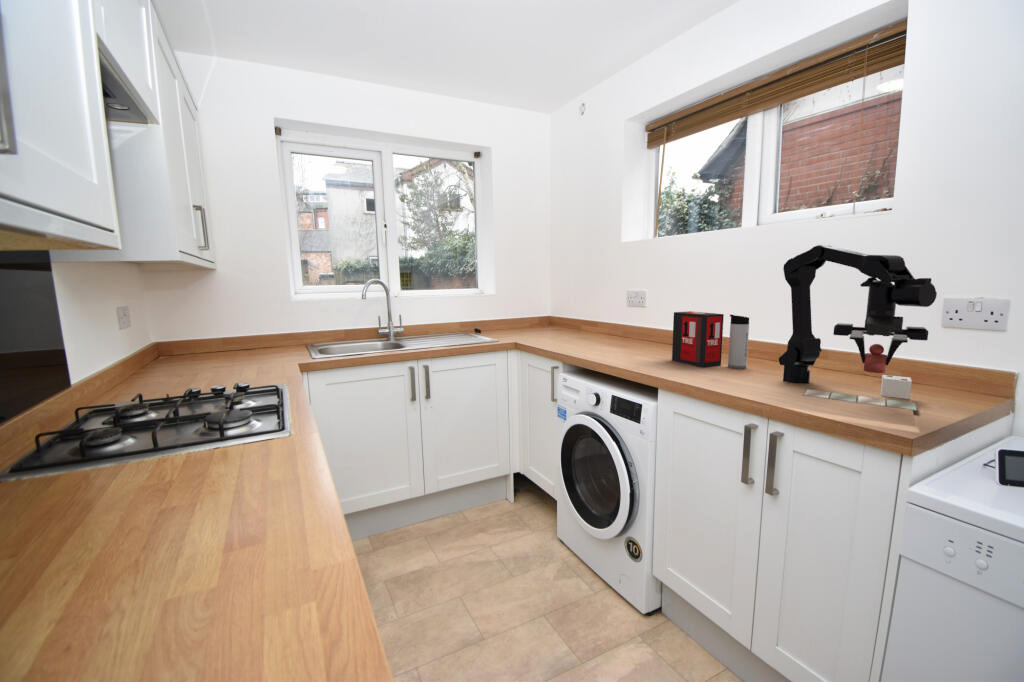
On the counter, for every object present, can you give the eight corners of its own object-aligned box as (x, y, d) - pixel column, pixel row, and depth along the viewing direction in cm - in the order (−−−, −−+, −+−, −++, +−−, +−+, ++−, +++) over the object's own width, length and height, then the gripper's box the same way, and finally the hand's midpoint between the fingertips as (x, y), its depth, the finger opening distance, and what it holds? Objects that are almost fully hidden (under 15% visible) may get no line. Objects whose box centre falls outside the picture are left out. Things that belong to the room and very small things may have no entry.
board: (802, 399, 125) (802, 395, 124) (806, 392, 131) (806, 388, 131) (917, 414, 109) (917, 410, 109) (915, 406, 116) (915, 402, 116)
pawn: (863, 371, 117) (866, 344, 116) (863, 368, 120) (866, 342, 119) (885, 373, 114) (888, 345, 113) (885, 370, 118) (888, 343, 116)
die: (880, 399, 123) (882, 378, 123) (880, 395, 128) (882, 374, 127) (909, 403, 120) (911, 381, 119) (908, 398, 124) (910, 377, 123)
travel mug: (724, 365, 172) (727, 314, 169) (742, 365, 171) (746, 314, 168) (730, 369, 166) (733, 315, 163) (749, 369, 165) (752, 315, 162)
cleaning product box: (720, 365, 172) (723, 314, 169) (703, 367, 168) (706, 315, 165) (688, 358, 187) (690, 311, 184) (671, 360, 183) (673, 312, 180)
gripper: (834, 305, 114) (829, 364, 117) (933, 307, 103) (925, 373, 105) (837, 303, 123) (832, 358, 125) (929, 305, 111) (922, 366, 114)
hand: (875, 364), depth 117 cm, fingers closed on pawn, 4 cm apart
